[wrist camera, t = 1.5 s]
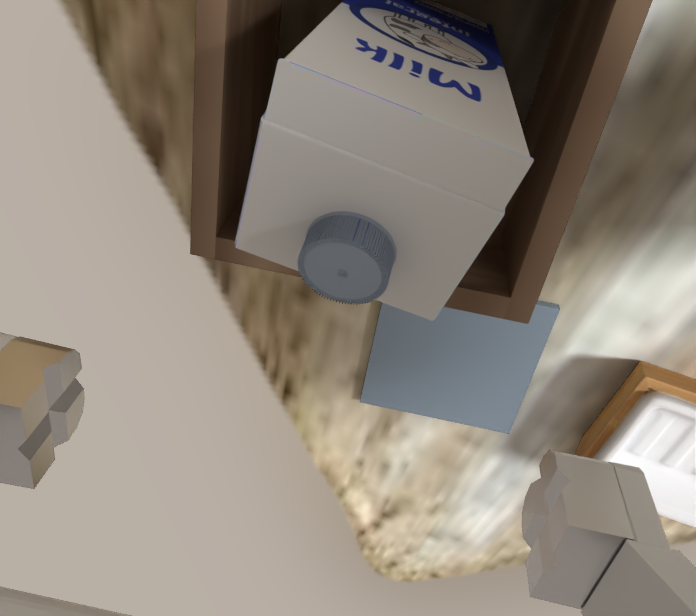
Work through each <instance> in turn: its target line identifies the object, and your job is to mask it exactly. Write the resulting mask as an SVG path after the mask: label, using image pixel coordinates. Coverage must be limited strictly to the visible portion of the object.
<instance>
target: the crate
mask: <svg viewBox="0 0 696 616" xmlns="http://www.w3.org/2000/svg"><path fill="white" fill-rule="evenodd" d="M651 3H652V0H564V1H563V4H562V7H561V10H560V14H559V17H558V20H557V23H556V26H555V30H554V33H553V36H552V39H551V42H550V46H549V49H548V52H547V55H546V58H545V62H544V65H543V68H542V71H541V74H540V77H539V81H538V84H537V87H536V90H535V93H534V97H533V100H532V103H531V106H530V109H529V113H528V116H527V119H526V122H525V125H524V129H523V134H524V137H525V141H526V144H527V148H528V151H529V155H530V157H532V158H533V159H534V162H533V163H532V165H531V167H530V168H529V170H528V172H527V173H526V175H525V176H524V178H523V180H522V181H521V183H520V184H519V186H518V188H517V189H516V191H515V193H514V194H513V196H512V197H511V199H510V201H509V202H508V204H507V206H506V207H505V214H504V216H503V218H502V219H501V221H500V222H499V224H498V225H497V227H496V228H495V230H494V231H493V233H492V234H491V236H490V237H489V239H488V240H487V242H486V243H485V245H484V246H483V248H482V249H481V251H480V252H479V254H478V255H477V257H476V258H475V260H474V261H473V263H472V264H471V266H470V268H469V269H468V271H467V272H466V274H465V275H464V277H463V278H462V280H461V281H460V283H459V284H458V286H457V287H456V289H455V290H454V292H453V293H452V295H451V296H450V298H449V299H448V301H447V302H446V304H445V305H444V307H448V308H452V309H457V310H462V311H467V312H472V313H477V314H481V315H486V316H491V317H496V318H501V319H506V320H510V321H515V322H520V323H525V324H529V321H530V319H531V316H532V313H533V311H534V308H535V306H536V303H537V300H538V298H539V295H540V292H541V290H542V287H543V285H544V282H545V279H546V277H547V274H548V272H549V269H550V266H551V264H552V261H553V259H554V256H555V253H556V251H557V248H558V246H559V243H560V240H561V238H562V235H563V233H564V230H565V227H566V225H567V222H568V219H569V217H570V214H571V212H572V209H573V206H574V204H575V201H576V199H577V196H578V193H579V191H580V188H581V186H582V183H583V180H584V178H585V175H586V173H587V170H588V167H589V165H590V162H591V160H592V157H593V154H594V152H595V149H596V146H597V144H598V141H599V139H600V136H601V133H602V131H603V128H604V126H605V123H606V120H607V118H608V115H609V113H610V110H611V107H612V105H613V102H614V100H615V97H616V94H617V92H618V89H619V87H620V84H621V81H622V79H623V76H624V73H625V71H626V68H627V66H628V63H629V60H630V58H631V55H632V53H633V50H634V47H635V45H636V42H637V40H638V37H639V34H640V32H641V29H642V27H643V24H644V21H645V19H646V16H647V14H648V11H649V8H650V6H651ZM281 4H282V0H196V34H195V77H194V119H193V162H192V204H191V247H190V254H192V255H197V256H202V257H207V258H212V259H216V260H221V261H226V262H231V263H236V264H240V265H245V266H250V267H255V268H260V269H265V270H269V271H274V272H279V273H284V274H289V275H293V276H298V277H302V276H300V274H301V273H299V271H296V270H294V269H291V268H288V267H286V266H283V265H280V264H278V263H275V262H272V261H270V260H267V259H264V258H262V257H259V256H256V255H254V254H251V253H248V252H246V251H243V250H240V249H237V248H236V247H235V239H236V235H237V230H238V225H239V220H240V216H241V211H242V206H243V201H244V197H245V192H246V187H247V182H248V178H249V173H250V168H251V163H252V159H253V154H254V149H255V145H256V140H257V135H258V130H259V126H260V121H261V117H262V116H263V114H264V112H265V111H266V109H267V106H268V101H269V97H270V93H271V89H272V84H273V80H274V76H275V70H276V59H277V48H278V37H279V26H280V15H281Z"/></svg>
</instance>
